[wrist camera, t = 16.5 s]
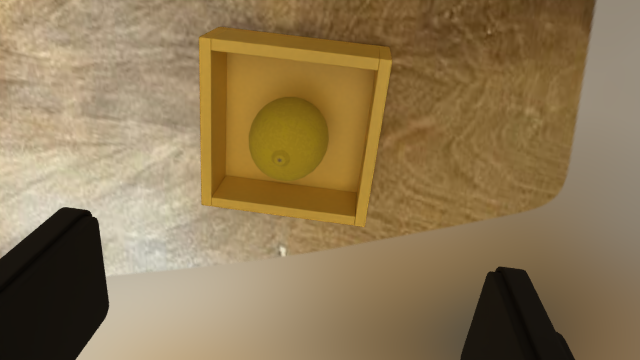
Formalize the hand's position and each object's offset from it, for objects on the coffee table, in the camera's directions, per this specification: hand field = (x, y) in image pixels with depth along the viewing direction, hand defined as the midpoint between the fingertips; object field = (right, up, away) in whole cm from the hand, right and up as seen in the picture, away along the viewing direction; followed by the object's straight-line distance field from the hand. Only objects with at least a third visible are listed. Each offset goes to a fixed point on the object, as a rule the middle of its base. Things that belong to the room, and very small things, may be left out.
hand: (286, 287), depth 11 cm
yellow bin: (-1, +7, +26) cm, 27 cm away
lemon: (-1, +7, +25) cm, 27 cm away
